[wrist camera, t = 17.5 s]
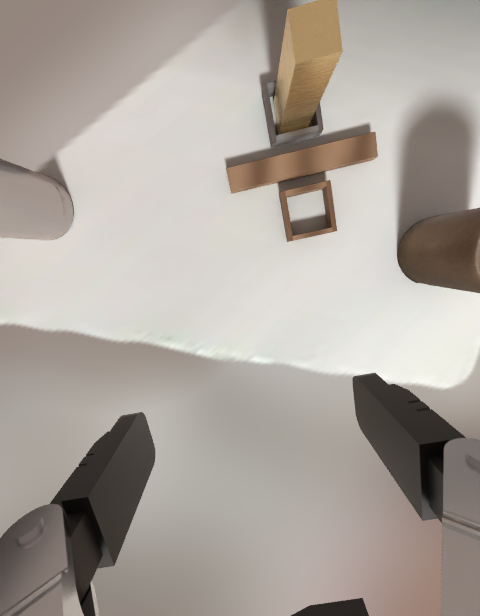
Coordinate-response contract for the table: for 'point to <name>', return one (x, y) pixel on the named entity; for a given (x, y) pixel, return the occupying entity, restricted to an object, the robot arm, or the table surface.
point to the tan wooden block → (306, 62)
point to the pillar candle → (444, 251)
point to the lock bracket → (301, 163)
